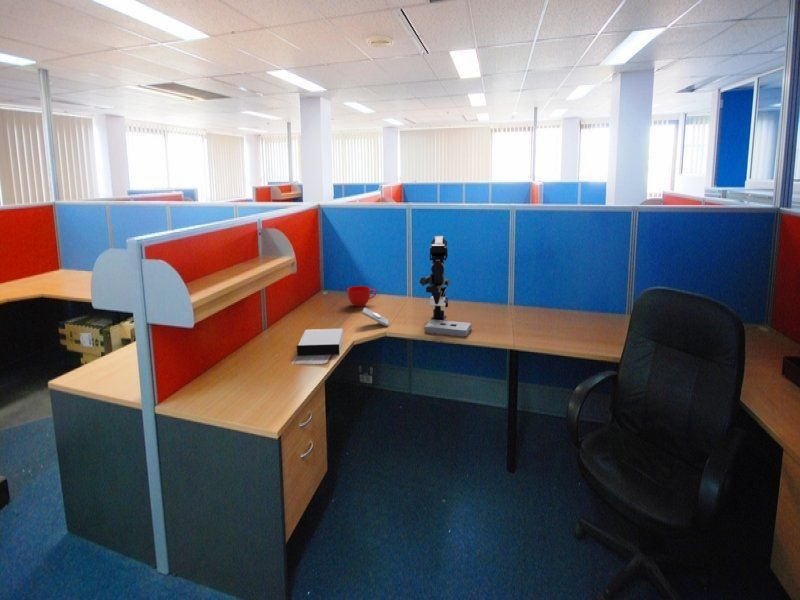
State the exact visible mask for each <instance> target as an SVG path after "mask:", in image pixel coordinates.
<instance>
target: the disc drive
mask: <svg viewBox="0 0 800 600" xmlns="http://www.w3.org/2000/svg"><path fill="white" fill-rule="evenodd" d="M343 339H344V329H343V328H317V329H313V328H312V329H305V330H304V333H303V334H302V336H301V338H300V340H299V342H298V344H297V345H296V355H297V357H306V356H307V357H308V356H336V355H337V356H338V355H340V352H341V348H342V344H343Z"/></svg>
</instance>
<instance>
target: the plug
mask: <svg viewBox="0 0 800 600" xmlns="http://www.w3.org/2000/svg"><path fill="white" fill-rule="evenodd" d="M431 296H432V295H431ZM431 296H430V298H429V299H430V300H429V304H430V305H429V306H430V309H429V310H434V309H435V305H439V306H441V310H443V311H444V312H445V310H446V307H445V303H448V304H449V299H448V300H445V297H440V300H439V303H438V304H435V301H434V297H433V296H432V297H431Z"/></svg>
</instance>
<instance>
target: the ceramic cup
mask: <svg viewBox="0 0 800 600" xmlns="http://www.w3.org/2000/svg"><path fill="white" fill-rule="evenodd" d="M346 291H347V297H348V300H349V302H350V304H351V305H353V306H354V307H355V306H358V308H359V307H360V306H362V307H365V306H366V304H367V303H368V302H369V300H371V299H372V298H375V297H376V296H377V294H378V293H377V290H376V289H374V288H373V289H372V288H370V287H369V286H364V285H355V286H350V287H348V288H347V290H346ZM372 291H373V292H374V291H375V293H374V294H373V295H372V296H370V295H371V293H372ZM364 305H365V306H364ZM360 308H361V307H360Z"/></svg>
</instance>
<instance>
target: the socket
mask: <svg viewBox="0 0 800 600" xmlns="http://www.w3.org/2000/svg"><path fill="white" fill-rule="evenodd" d="M471 330H472V322H465V321H464V322H463V321H454V320H453V321H452V320H444V319H443V320H439V319H431V320H430V321H428V322H427V324H425V326H424V333H425V332H427V333H426V334H434V333H436V334H437V335H444V334H446V335H445V336H448V335H449V336H454V335H457V337H464V336H466V337H467V336H468V335H469V333H470V332H469V331H471Z"/></svg>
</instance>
